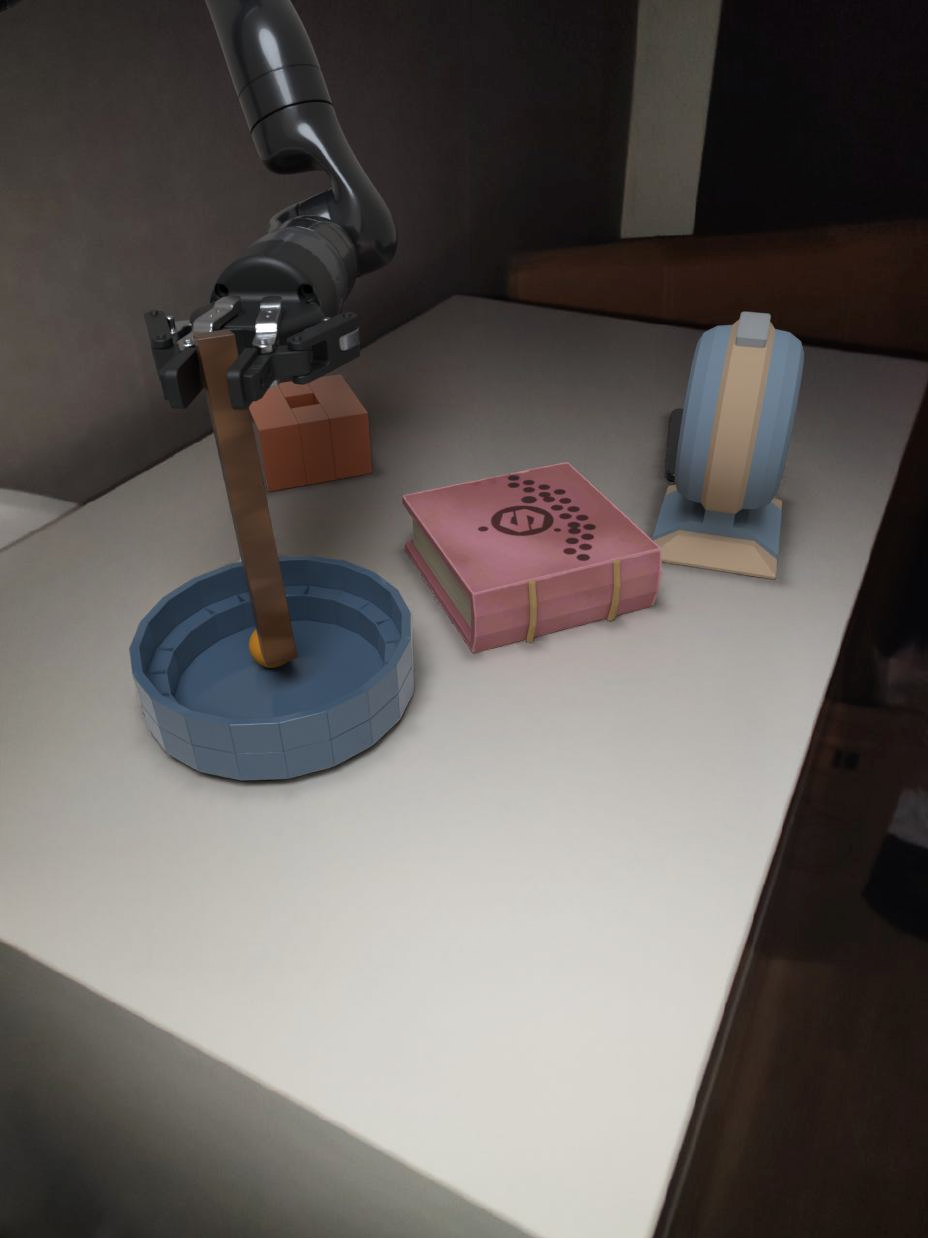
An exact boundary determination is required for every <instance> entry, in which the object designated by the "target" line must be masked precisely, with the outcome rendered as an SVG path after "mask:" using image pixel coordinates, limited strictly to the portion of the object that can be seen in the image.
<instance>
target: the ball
mask: <svg viewBox="0 0 928 1238" xmlns="http://www.w3.org/2000/svg"><path fill="white" fill-rule="evenodd" d="M249 651H250V654H251V656H252V658H253V659H254V660H255V661H256V662H257V663H258V664H260V665H262V666H264V667H268V668H276V667H280V666H282V665H284V664H285V663H287V662H288V661H289V660H288V661H284V662H281V663H277V664H273V665H269V666H267V665H266V662H265V660H264V658H263V655H262V653H261V649H260V644H259V640H258V635H257V631H256V630H255V631H254V632H253V633H252V635H251V637H250V640H249Z"/></svg>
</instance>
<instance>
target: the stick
mask: <svg viewBox="0 0 928 1238" xmlns="http://www.w3.org/2000/svg"><path fill="white" fill-rule="evenodd" d="M193 338H194V343H195V348H196V352H197V357H198V362H199V366H200V371H201V375H202V380H203V385H204V388H203V390H204V394H205V398H206V402H207V408H208V412H209V418H210V421H211V425H212V426H211V427H212V430H213V436H214V440H215V444H216V445H215V446H216V449H217V453H218V459H219V463H220V468H221V473H222V477H223V482H224V486H225V491H226V495H227V500H228V505H229V509H230V514H231V519H232V523H233V528H234V532H235V537H236V542H237V547H238V550H239V551H238V552H239V555H240V560H241V561H240V562H242V566H243V570H244V575H245V579H246V584H247V589H248V593H249V598H250V603H251V607H252V612H253V617H254V621H255V626H256V631H257V635H258V640H259V644H260V649H261V653H262V655H263V658H264V660H265V662H266V665H267V666H269V665H273V664H277V663H281V662H284V661H288V660H292V659H296V658H298V655H297V650H296V645H295V640H294V635H293V630H292V625H291V620H290V615H289V609H288V604H287V599H286V594H285V589H284V584H283V579H282V574H281V569H280V563H279V558H278V556H279V553H278V549H277V544H276V538H275V534H274V528H273V522H272V518H271V513H270V508H269V503H268V497H267V492H266V486H265V482H264V480H263V476H262V471H261V466H260V461H259V456H258V451H257V446H256V441H255V436H254V430H253V425H252V420H251V415H250V410H249V408H248V409H247V410H234V409H233V408H232V406H231V401H230V395H229V390H228V384H227V371H228V369H229V367H230V366H231V365H232V364H233V363H234V361H235V360H236V359H237V358H238V357H239V354H238V349H237V343H236V338H235V334H234V333H233V332H231V331H230V330H228V329H226V330H219V331H213V332H206V333H199V334H194V335H193Z"/></svg>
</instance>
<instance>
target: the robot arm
mask: <svg viewBox="0 0 928 1238" xmlns="http://www.w3.org/2000/svg"><path fill="white" fill-rule="evenodd" d="M22 1H24V0H0V12H2V11H5V10H7V9H8V8H13V7H15V6H16V5H18V4H20V3H21V2H22ZM24 2H25V1H24ZM204 2H205V3H206V7H207V9H208V12H209V15H210V18H211V21H212V23H213V28H214V30H215V33H216V36H217V39H218V42H219V46H220V48H221V51H222V55H223V57H224V61H225V64H226V67H227V70H228V73H229V76H230V78H231V82H232V85H233V87H234V90H235V93H236V96H237V100H238V101H239V105H240V108H241V110H242V113H243V116H244V119H245V122H246V125H247V128H248V130H249V133H250V135H251V138H252V141H253V144H254V147H255V150H256V152H257V155H258V157H259V159H260V162H261V163H262V165H263V166H264V168H265V169H267V170H268V171H269V172H271V173H272V174H275V175H280V176H290V175H291V176H292V175H298V174H303V173H310V172H319V171H320V172H324V173H325V174H326V176H327V177H328V179H329V180H330V183H331V186H332V187H329V188H328V189H326V190H324V191H322V192H318V193H316V194H314V195H312V196H310V197H307V198H305V199H303V200H301V201H298V202H296V203H293V204H292V205H289V206H287V207H285V208H283V209H281V210H280V211H278V212H277V213H275V214H274V215H272V216H271V217H270V219H268V222H267V224H266V230H265V231H266V234H265V235H263V236H261V237H259V238H258V239H256V240H254V242H253V243H252V244H250V245H249V246H248V247H247V248H246V249H244V251H243V252H241V253H240V254H239V255H238V256H237V257H236V258H235V259H234V260H232V261H231V262H230V263H229V264H228V265H227V266H226V267H225V268H224V269H223V270H222V271H221V272H220V274H219V275H218V277H217V279H216V281H215V283H214V285H213V287H212V291H211V293H210V297H209V301H208V302H207V304H206V305H202V306H201V307H198V308H196V309H194V310H193V311H192V312H191V313H190V315H189V319H185V320H178V321H177V320H176V321H175V317H174V315H166V313H165V311H163V310H157V309H151V310H149V311H147V312H145V313H144V314H143V318H144V321H145V327H146V331H147V336H148V340H149V346H150V350H151V355H152V358H153V363H154V365H155V369H156V373H157V377H158V380H159V381H160V384H161V385H160V386H161V390H162V395H163V399H164V400H165V401H168V402H169V406H170V408H171V409H175V410H179V409H185V410H186V409H188V407H189V406H190V405H191V404H192V402H194V400H195V399H196V398H197V397H198V395H199V394H200V393H201V392H202V391H203V390H204V385H203V380H202V375H201V371H200V366H199V362H198V357H197V352H196V348H195V343H194V338H193V335H194V334H199V333H206V332H213V331H219V330H226V329H228V330H230V331H231V332H233V333H234V334H235V338H236V343H237V349H238V354H239V357H238V358H237V359H236V360H235V361H234V363H233V364H232V365H231V366H230V367H229V369H228V371H227V384H228V390H229V395H230V401H231V406H232V408H233V409H234V410H247V409H248V408H249V406H250V405H251V404H252V402H253V401H258V400H259V399H261V398H263V396H264V395H265V393H266V392H267V390H268V389H269V388H273V387H276V386H278V385H279V384H280V383H282V379H285V378H290V379H291V381H292V383H294V384H300V385H304V384H308V383H310V382H312V381H314V380H316V379H318V378H320V377H325V376H327V374H329V373H331V372H334V371H335V370H337V369H339V368H340V367H342V366H344V365H346V364H349V363H350V362H352V361H354V360H356V359H358V358H359V357H361V355H362V354H361V345H360V344H361V338H360V327H359V320H358V319H359V318H358V314H357V313H355V312H351V311H344V312H343V309H344V306H345V302H346V301H347V299H348V298H349V296H350V295H351V292H352V290H353V288H354V287H355V284H356V282H357V281H356V280H357V279H359V278H360V277H363V276H366V275H369V274H371V273H373V272H376V271H379V270H381V269H383V268H385V267H386V266H388V265H390V263H391V262H392V261H393V259H394V257H395V255H396V252H397V249H398V242H399V233H398V232H399V231H398V225H397V222H396V220H395V217H394V214H393V212H392V210H391V208H390V206H389V205H388V204H387V202H386V200H385V199H384V197H383V196H382V194H381V193H380V191H379V190H378V188H377V187H376V185H375V184H374V182H373V181H372V179H371V178H370V177H369V175H368V173H367V172H366V170H365V169H364V167H363V165H362V164H361V162H360V161H359V159H358V157H357V156H356V154H355V152H354V150H353V148H352V147H351V145H350V143H349V140H348V139H347V136H346V135H345V132H344V130H343V128H342V126H341V124H340V121H339V119H338V115H337V112H336V110H335V107H334V104H333V100H332V98H331V96H330V92H329V89H328V86H327V83H326V80H325V77H324V74H323V71H322V68H321V65H320V62H319V59H318V56H317V54H316V51H315V48H314V47H313V46H314V45H313V44H312V41H311V38H310V37H309V34H308V32H307V29H306V28H305V25H304V23H303V21H302V20H301V18H300V16H299V14H298V12H297V10H296V8H295V6H294V5H293V3H292V1H291V0H204ZM20 5H21V4H20ZM7 6H8V8H7Z"/></svg>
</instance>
